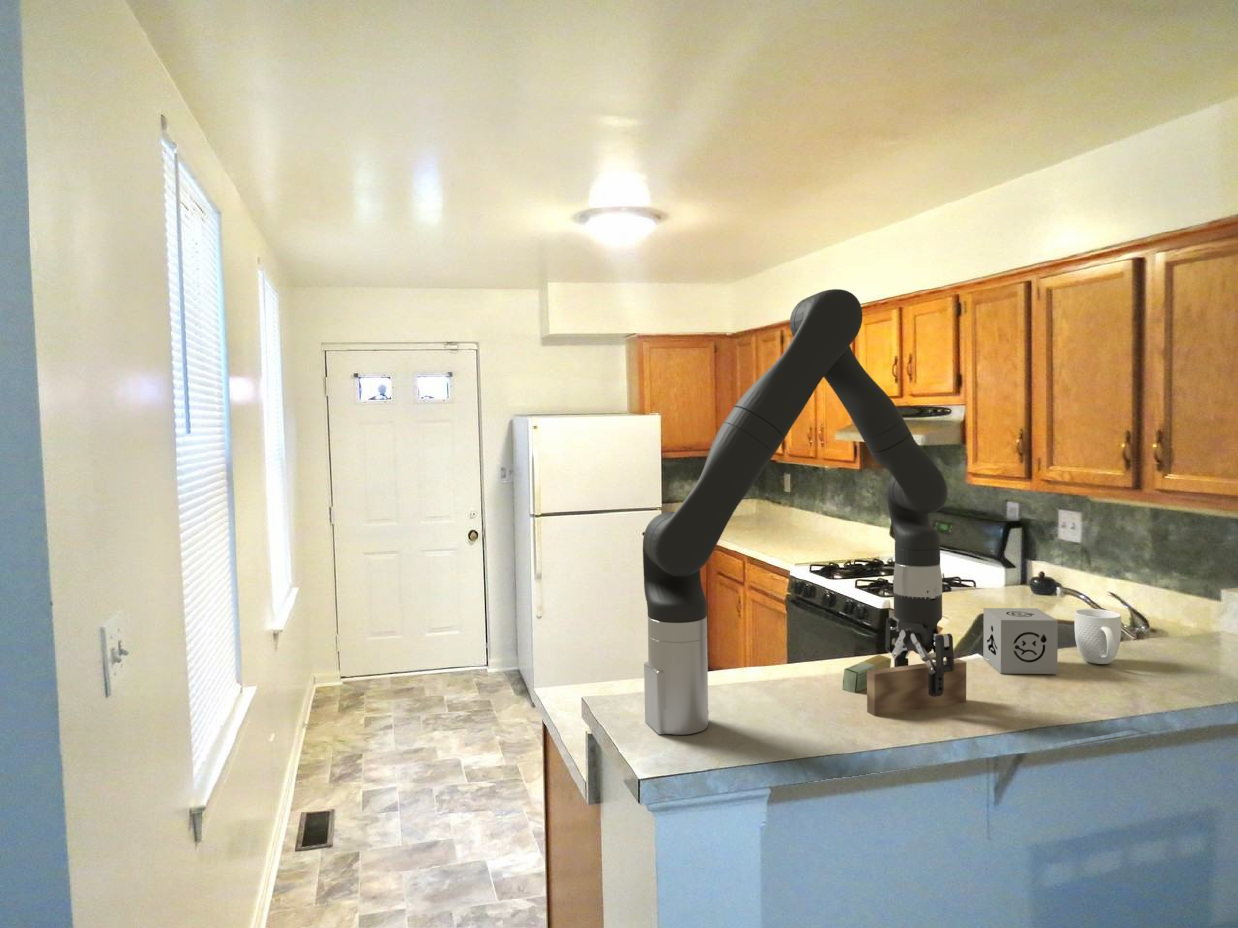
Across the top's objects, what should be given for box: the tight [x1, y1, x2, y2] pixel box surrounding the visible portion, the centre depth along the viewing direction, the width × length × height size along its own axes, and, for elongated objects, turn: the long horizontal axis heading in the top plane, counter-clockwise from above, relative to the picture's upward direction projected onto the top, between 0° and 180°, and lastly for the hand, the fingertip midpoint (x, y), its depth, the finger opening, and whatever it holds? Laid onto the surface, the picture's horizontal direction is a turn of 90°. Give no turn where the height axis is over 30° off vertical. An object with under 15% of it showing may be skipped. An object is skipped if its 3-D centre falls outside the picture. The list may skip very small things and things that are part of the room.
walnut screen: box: [866, 658, 967, 717], centre depth 139 cm, size 18×2×7 cm, turn 109°
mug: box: [1073, 608, 1122, 665], centre depth 162 cm, size 11×8×9 cm
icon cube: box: [982, 607, 1059, 675], centre depth 161 cm, size 10×10×10 cm
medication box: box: [842, 654, 892, 694], centre depth 152 cm, size 12×3×4 cm, turn 133°
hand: (918, 687), depth 139 cm, fingers open, 8 cm apart
